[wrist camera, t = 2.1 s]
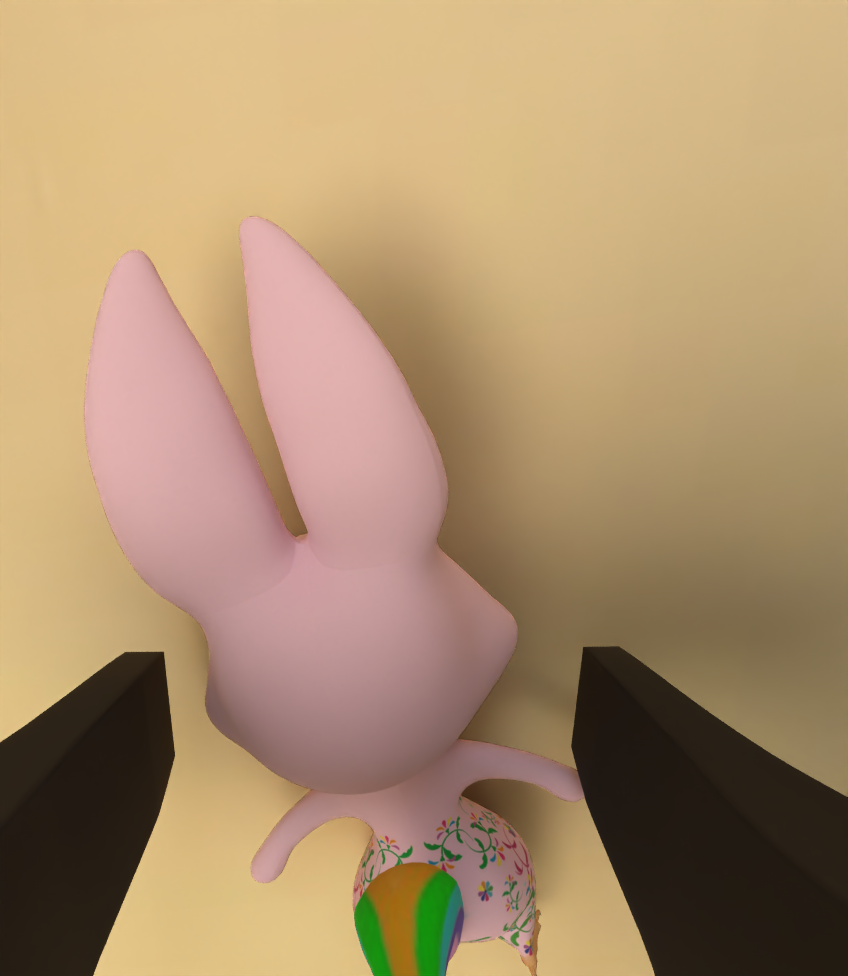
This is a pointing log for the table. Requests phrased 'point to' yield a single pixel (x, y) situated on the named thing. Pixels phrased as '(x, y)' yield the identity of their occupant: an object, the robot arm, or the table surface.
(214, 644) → the rabbit figure
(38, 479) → the table surface
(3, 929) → the robot arm
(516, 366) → the table surface
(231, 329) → the table surface
